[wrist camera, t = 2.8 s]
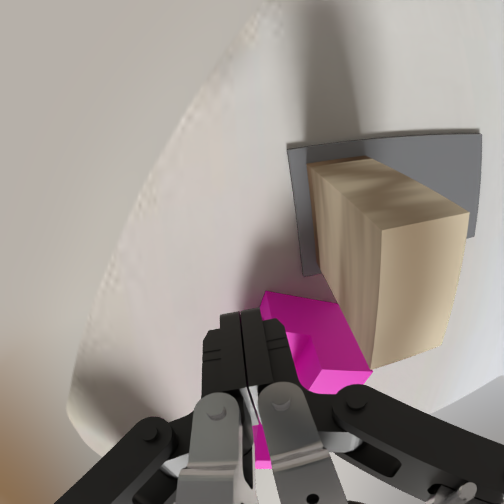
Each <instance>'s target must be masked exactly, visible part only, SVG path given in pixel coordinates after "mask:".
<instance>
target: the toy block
mask: <svg viewBox="0 0 504 504" xmlns="http://www.w3.org/2000/svg"><path fill="white" fill-rule="evenodd" d="M260 312H261V316H262V321H263V320H268V319H273V318H277V319H278V320H279V321H280V322H281V323H282V324H283V325H284V327H285V331H286V334H287V339H288V342H289V346H290V349H291V353H292V357H293V361H294V365H295V368H296V372H297V376H298V379H299V382H300V383H301V385H302V386H303V387H304V388H306V389H307V390H309V391H311V392H314V393H318V394H336V393H337V392H338V391H339V390H341V389H342V388H344V387H346V386H348V385H352V384H364V383H365V382H366V380H367V379H368V378H369V376H370V375H371V374H372V372H373V371H372V370H370V368H369V366H368V364H367V362H366V360H365V358H364V356H363V353H362V351H361V349H360V347H359V345H358V343H357V341H356V339H355V337H354V335H353V333H352V331H351V329H350V327H349V325H348V323H347V321H346V319H345V317H344V315H343V313H342V311H341V309H340V307H339V305H338V304H337V303H331V302H325V301H319V300H314V299H308V298H302V297H297V296H291V295H286V294H280V293H275V292H269V291H265V294H264V297H263V299H262V302H261V305H260ZM258 420H259V417H258ZM252 429H253V437H254V446H255V469H272V466H271V459H270V455H269V451H268V446H267V442H266V438H265V434H264V430H263V426H262V424H261V423H260V420H259V425H254V426H252Z"/></svg>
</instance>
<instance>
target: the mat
mask: <svg viewBox="0 0 504 504" xmlns="http://www.w3.org/2000/svg"><path fill="white" fill-rule="evenodd" d="M287 154H288V160H289V167H290V174H291V181H292V188H293V196H294V203H295V211H296V219H297V227H298V235H299V243H300V252H301V261H302V270H303V276H304V277H306V276H311V275H315V274H320V273H322V272H321V270H320V268H319V266H318V264H317V262H316V250H315V239H314V229H313V219H312V209H311V200H310V191H309V182H308V174H307V166H306V164H307V163H314V162H320V161H327V160H334V159H342V158H349V157H357V156H365V155H366V156H368V157H370V158H372V159H374V160H376V161H378V162H380V163H382V164H384V165H386V166H388V167H390V168H392V169H394V170H396V171H398V172H400V173H402V174H404V175H406V176H408V177H410V178H412V179H413V180H415V181H417V182H419V183H421V184H423V185H424V186H426V187H428V188H430V189H432V190H433V191H435V192H437V193H439V194H440V195H442V196H444V197H445V198H447V199H449V200H450V201H452V202H454V203H455V204H457V205H459V206H460V207H462V208H464V209H465V210H467V211H468V212H470V214H469V222H468V230H467V237H466V239H467V238H471V237H474V235H475V228H476V221H477V213H478V204H479V194H480V181H481V163H482V134H433V135H413V136H398V137H385V138H374V139H364V140H354V141H345V142H337V143H329V144H321V145H314V146H307V147H300V148H294V149H287Z"/></svg>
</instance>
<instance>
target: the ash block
mask: <svg viewBox="0 0 504 504" xmlns="http://www.w3.org/2000/svg"><path fill="white" fill-rule="evenodd" d="M306 166H307V174H308V182H309V191H310V200H311V209H312V219H313V229H314V239H315V250H316V262H317V264H318V266H319V268H320V270H321V272H322V274H323V276H324V277H325V279H326V281H327V283H328V285H329V287H330V289H331V291H332V293H333V295H334V297H335V299H336V301H337V303H338V305H339V307H340V309H341V311H342V313H343V315H344V317H345V319H346V321H347V323H348V325H349V327H350V329H351V331H352V333H353V335H354V337H355V339H356V341H357V343H358V345H359V347H360V349H361V351H362V353H363V356H364V358H365V360H366V362H367V364H368V366H369V368H370V370H372V369H375V368H379V367H382V366H385V365H388V364H391V363H394V362H397V361H400V360H403V359H406V358H409V357H411V356H414V355H417V354H420V353H422V352H425V351H428V350H430V349H433V348H436V347H438V346H441V345H442V341H443V338H444V335H445V332H446V328H447V325H448V321H449V318H450V314H451V310H452V306H453V302H454V298H455V294H456V290H457V286H458V281H459V276H460V271H461V266H462V261H463V256H464V250H465V244H466V237H467V230H468V222H469V214H470V212H468V211H467V210H465V209H464V208H462V207H460V206H459V205H457V204H455V203H454V202H452V201H450V200H449V199H447V198H445V197H444V196H442V195H440V194H439V193H437V192H435V191H433V190H432V189H430V188H428V187H426V186H424V185H423V184H421V183H419V182H417V181H415V180H413V179H412V178H410V177H408V176H406V175H404V174H402V173H400V172H398V171H396V170H394V169H392V168H390V167H388V166H386V165H384V164H382V163H380V162H378V161H376V160H374V159H372V158H370V157H368V156H366V155H365V156H357V157H349V158H342V159H334V160H327V161H320V162H314V163H307V164H306Z"/></svg>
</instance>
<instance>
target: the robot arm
mask: <svg viewBox="0 0 504 504" xmlns="http://www.w3.org/2000/svg"><path fill="white" fill-rule="evenodd" d="M202 361H203V363H202V396H201V399H200V400H199V402H198V403H197V404H196V406H195V408H194V411H193V412H191V413H190V414H188V415H187V416H185V417H182V418H180V419H177V420H174V421H172V422H169V423H168V422H167V421H166V420H164V419H162V418H160V417H148V418H145V419H143V420H141V421H139V422H138V423H137V424H136V425H135V426H134V427H133V428H132V429H131V430H130V431H129V432H128V433H127V434H126V435H125V436H124V437H123V438H122V439H121V440H120V441H119V442H118V443H117V444H116V445H115V446H114V447H113V448H112V449H111V450H110V451H109V452H108V453H107V454H106V455H105V456H104V457H103V458H102V459H101V460H99V461H98V463H96V464H95V465H94V466H93V467H92V468H91V469H90V470H89V471H88V472H87V473H86V474H85V475H84V476H83V477H82V478H81V479H80V480H79V481H78V482H76V484H74V485H73V486H72V487H71V488H70V489H69V490H68V491H67V492H66V493H65V494H64V495H63V496H62V497H60V498H59V499H58V500H57V501H56V502H55V503H54V504H173V503H174V502H175V501H176V502H175V504H259V503H258V498H257V495H256V479H255V446H254V437H253V429H252V426H254V425H259V420H260V423H261V424H262V426H263V430H264V434H265V438H266V442H267V446H268V451H269V455H270V459H271V466H272V470H273V475H274V478H275V483H276V486H277V490H278V494H279V498H280V502H281V504H364V503H361V502H355V501H347V499H346V496H345V494H344V491H343V488H342V486H341V483H340V480H339V478H338V475H337V472H336V470H335V467H334V464H333V462H332V459H331V457H330V454H329V452H334V453H335V454H336V455H337V456H339V457H341V458H342V459H344V460H346V461H347V462H349V463H351V464H353V465H354V466H356V467H358V468H360V469H362V470H363V471H365V472H367V473H369V474H371V475H372V476H374V477H376V478H378V479H380V480H382V481H384V482H386V483H388V484H389V485H391V486H394V487H395V488H397V489H399V490H401V491H403V492H406V493H408V494H410V495H412V496H414V497H416V498H418V499H420V500H423V501H425V502H426V503H425V504H504V445H502V444H500V443H497V442H494V441H492V440H489V439H487V438H484V437H481V436H479V435H476V434H474V433H471V432H469V431H466V430H464V429H461V428H459V427H457V426H454V425H452V424H449V423H447V422H445V421H442V420H440V419H438V418H436V417H433V416H431V415H429V414H427V413H424V412H422V411H420V410H418V409H415V408H413V407H411V406H409V405H407V404H405V403H402V402H400V401H398V400H396V399H394V398H392V397H390V396H388V395H385V394H383V393H381V392H379V391H377V390H375V389H373V388H371V387H369V386H366V385H363V384H352V385H348V386H346V387H344V388H342V389H341V390H339V391H338V392H337V393H336V394H318V393H314V392H311V391H309V390H307V389H306V388H304V387H303V386H302V385H301V383H300V382H299V379H298V376H297V372H296V368H295V365H294V361H293V357H292V353H291V349H290V346H289V342H288V339H287V334H286V331H285V327H284V325H283V324H282V323H281V322H280V321H279V320H278V319H277V318H273V319H268V320H263V321H262V316H261V312H260V307H258V308H253V309H248V310H243V311H241V315H240V312H239V311H238V312H233V313H227V314H222V315H220V329H215V330H209V331H208V333H207V335H206V337H205V338H204V340H203V357H202ZM258 417H259V420H258Z"/></svg>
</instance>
